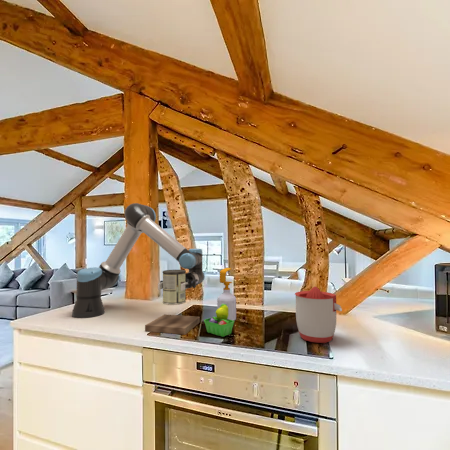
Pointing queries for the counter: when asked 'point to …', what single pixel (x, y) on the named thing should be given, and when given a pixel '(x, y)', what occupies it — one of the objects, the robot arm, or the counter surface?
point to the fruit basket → (220, 322)
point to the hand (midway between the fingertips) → (170, 287)
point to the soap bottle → (227, 296)
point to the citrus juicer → (316, 315)
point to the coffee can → (174, 287)
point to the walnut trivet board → (172, 324)
